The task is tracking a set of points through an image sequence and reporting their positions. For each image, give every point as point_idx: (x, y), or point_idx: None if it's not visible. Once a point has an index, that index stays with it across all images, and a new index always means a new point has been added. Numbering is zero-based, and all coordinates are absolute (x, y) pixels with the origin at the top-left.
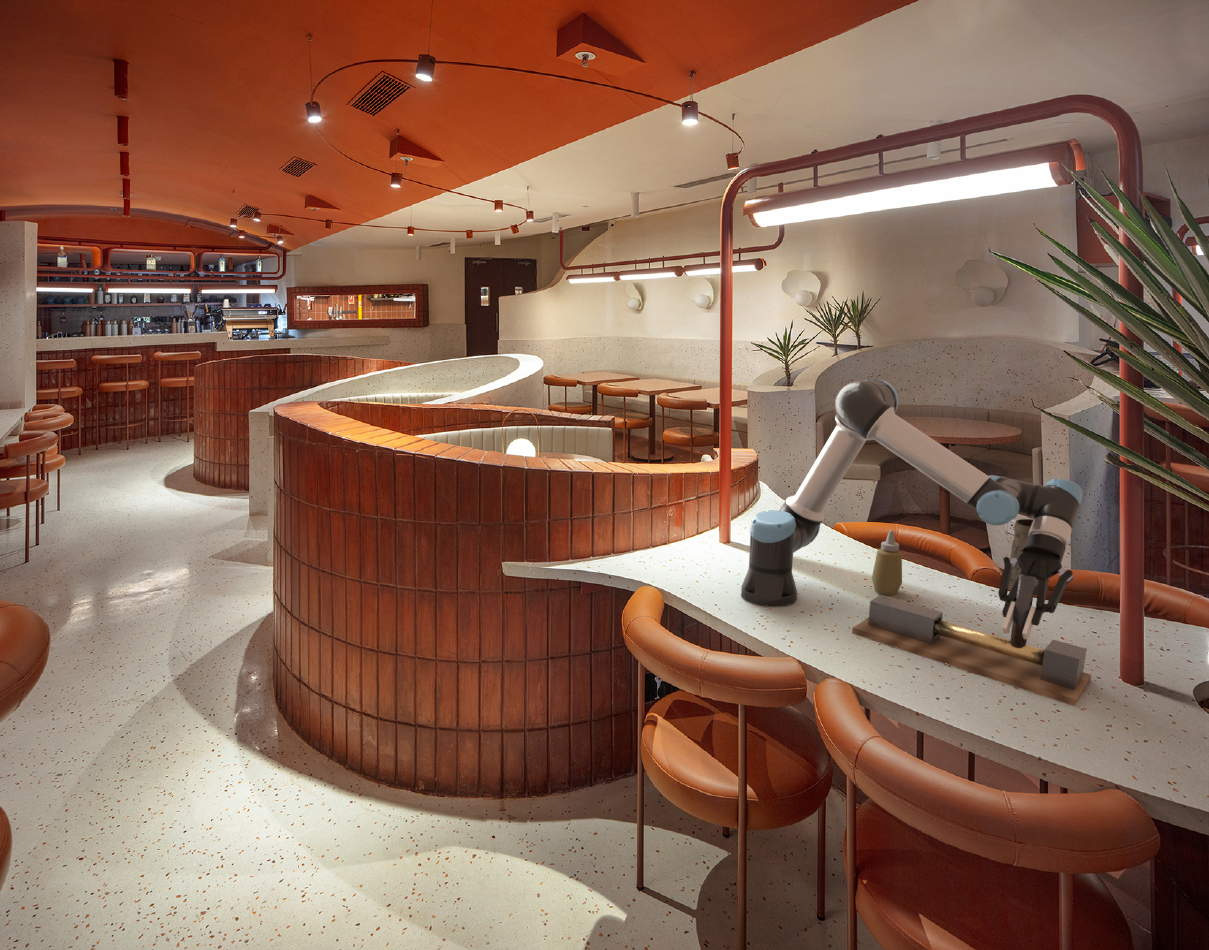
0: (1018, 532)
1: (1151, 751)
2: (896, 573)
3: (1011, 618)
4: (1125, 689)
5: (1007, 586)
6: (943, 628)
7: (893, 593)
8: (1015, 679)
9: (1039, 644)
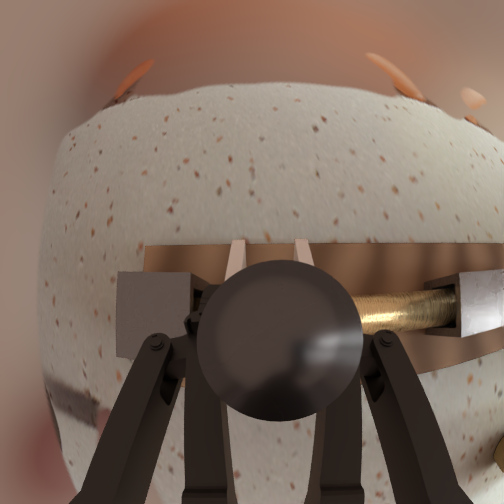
0: None
1: (75, 193)
2: None
3: None
4: (105, 379)
5: (384, 407)
6: (432, 291)
7: (499, 445)
8: (248, 244)
9: (264, 480)
